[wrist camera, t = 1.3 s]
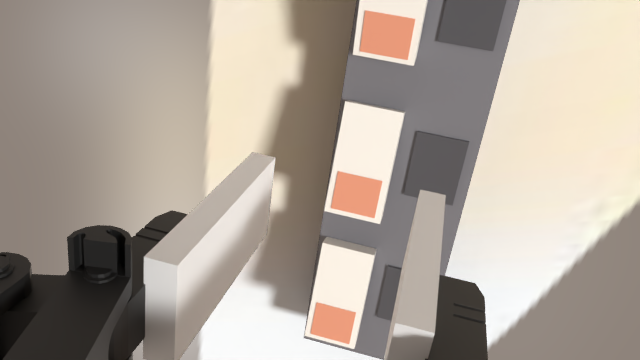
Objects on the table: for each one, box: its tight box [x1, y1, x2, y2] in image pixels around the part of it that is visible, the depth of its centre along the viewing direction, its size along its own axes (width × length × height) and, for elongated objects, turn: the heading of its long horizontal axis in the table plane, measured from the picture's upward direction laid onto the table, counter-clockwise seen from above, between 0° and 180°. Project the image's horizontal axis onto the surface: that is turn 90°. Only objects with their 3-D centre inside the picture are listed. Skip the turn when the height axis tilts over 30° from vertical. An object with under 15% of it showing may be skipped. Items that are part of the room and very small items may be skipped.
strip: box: [304, 0, 520, 360], centre depth 36 cm, size 40×9×4 cm, turn 172°
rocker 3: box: [305, 237, 377, 349], centre depth 39 cm, size 7×4×2 cm, turn 172°
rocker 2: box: [324, 100, 405, 224], centre depth 35 cm, size 7×4×2 cm, turn 172°
